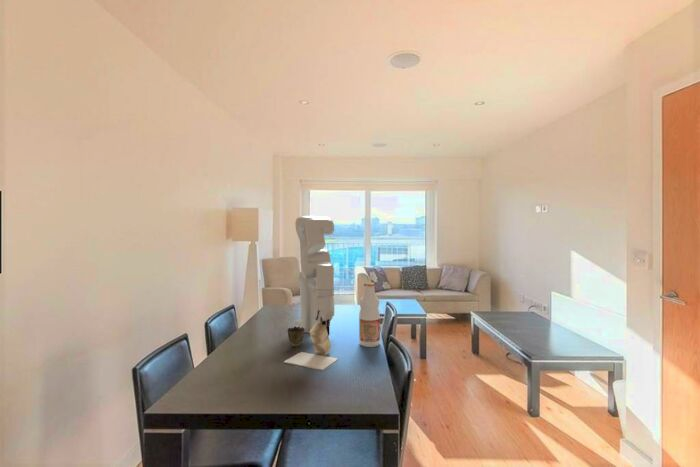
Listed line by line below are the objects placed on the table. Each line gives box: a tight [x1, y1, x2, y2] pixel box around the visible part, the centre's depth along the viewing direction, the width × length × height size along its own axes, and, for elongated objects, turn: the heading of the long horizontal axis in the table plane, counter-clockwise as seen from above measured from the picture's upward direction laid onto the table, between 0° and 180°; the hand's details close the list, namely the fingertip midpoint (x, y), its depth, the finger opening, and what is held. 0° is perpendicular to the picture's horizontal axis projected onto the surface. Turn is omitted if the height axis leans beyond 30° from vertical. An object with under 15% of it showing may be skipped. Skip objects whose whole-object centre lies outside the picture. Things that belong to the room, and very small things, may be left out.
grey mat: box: [283, 351, 339, 371], centre depth 137 cm, size 18×12×1 cm, turn 64°
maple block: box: [309, 324, 332, 356], centre depth 143 cm, size 5×5×12 cm
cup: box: [287, 326, 305, 348], centre depth 154 cm, size 8×7×8 cm
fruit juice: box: [358, 282, 381, 348], centre depth 157 cm, size 9×9×28 cm
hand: (325, 335), depth 146 cm, fingers closed
